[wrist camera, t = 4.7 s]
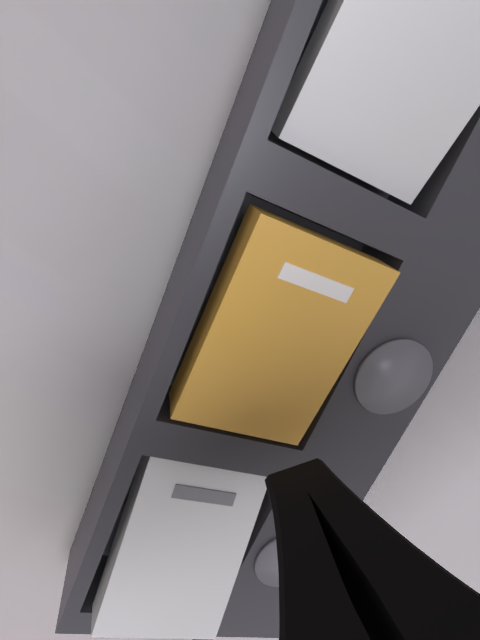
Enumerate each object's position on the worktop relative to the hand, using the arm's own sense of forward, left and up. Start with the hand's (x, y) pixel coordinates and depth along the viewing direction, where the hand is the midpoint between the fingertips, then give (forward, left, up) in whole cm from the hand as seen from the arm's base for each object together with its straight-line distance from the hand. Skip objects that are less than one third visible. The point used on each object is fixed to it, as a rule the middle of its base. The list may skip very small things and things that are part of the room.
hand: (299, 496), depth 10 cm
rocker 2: (0, -11, -5) cm, 12 cm away
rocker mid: (0, -2, -5) cm, 5 cm away
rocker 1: (0, +7, -5) cm, 8 cm away
